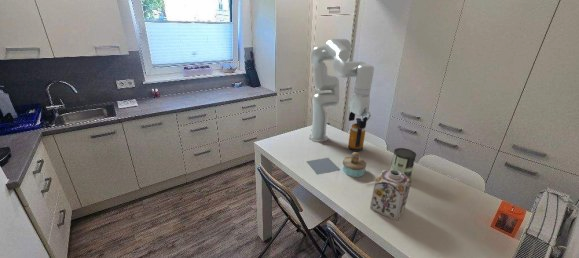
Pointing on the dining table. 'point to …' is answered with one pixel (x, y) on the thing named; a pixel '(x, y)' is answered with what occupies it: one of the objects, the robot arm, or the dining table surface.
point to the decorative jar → (390, 193)
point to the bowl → (353, 172)
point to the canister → (356, 136)
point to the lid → (354, 162)
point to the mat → (322, 166)
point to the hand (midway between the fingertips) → (356, 124)
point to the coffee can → (403, 161)
